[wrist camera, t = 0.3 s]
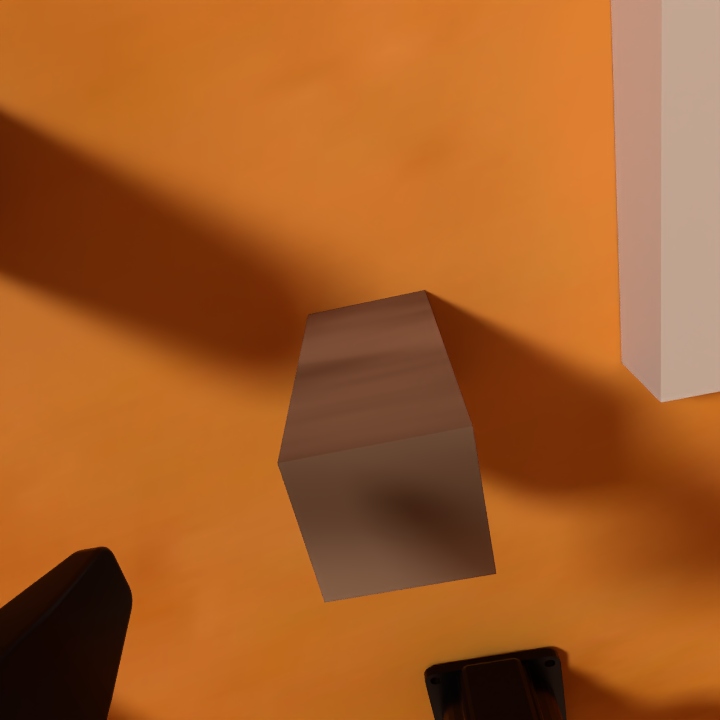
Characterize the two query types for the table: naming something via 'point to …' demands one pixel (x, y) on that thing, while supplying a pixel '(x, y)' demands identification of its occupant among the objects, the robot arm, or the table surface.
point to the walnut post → (383, 453)
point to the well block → (668, 192)
